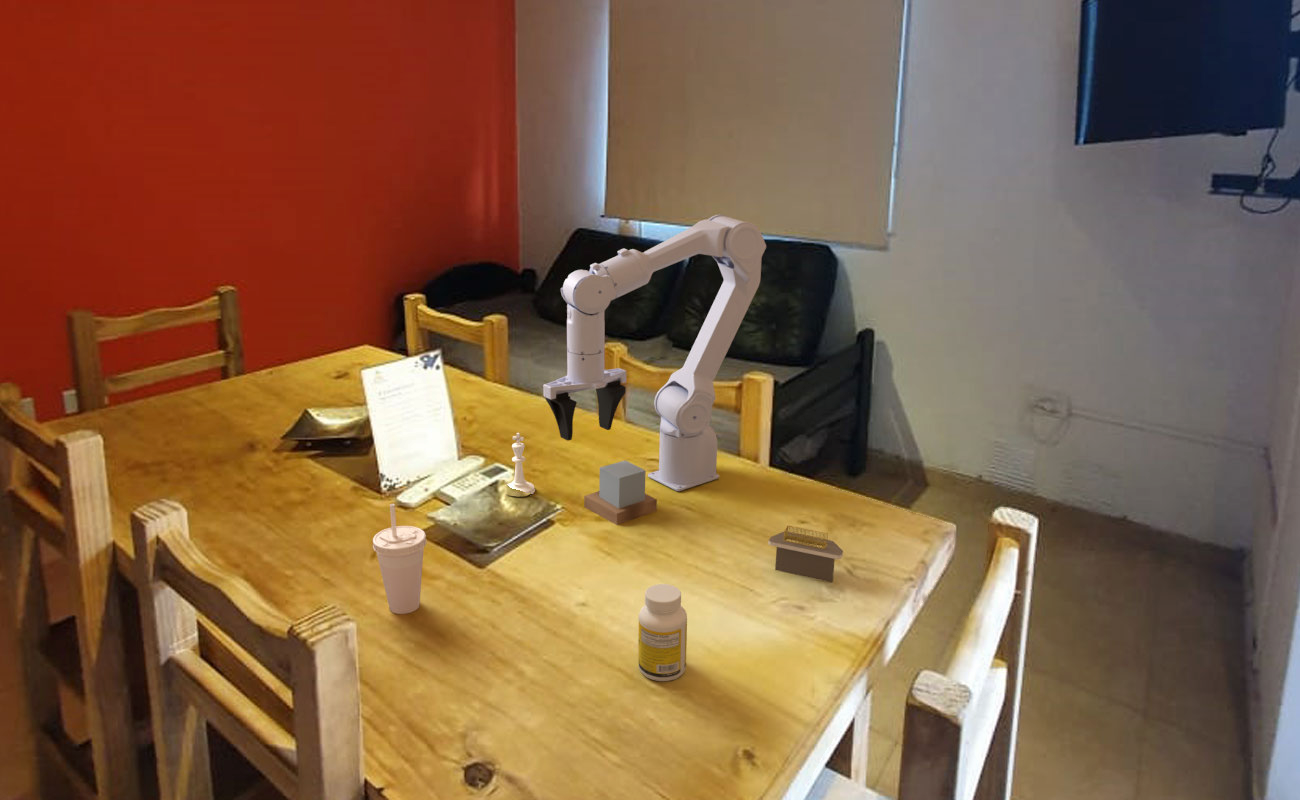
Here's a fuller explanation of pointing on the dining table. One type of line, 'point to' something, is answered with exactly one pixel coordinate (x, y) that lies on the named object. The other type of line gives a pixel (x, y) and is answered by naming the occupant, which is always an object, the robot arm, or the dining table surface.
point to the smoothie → (401, 564)
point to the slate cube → (622, 484)
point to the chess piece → (520, 467)
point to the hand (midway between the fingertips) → (585, 433)
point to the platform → (805, 554)
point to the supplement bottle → (662, 634)
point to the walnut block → (619, 514)
